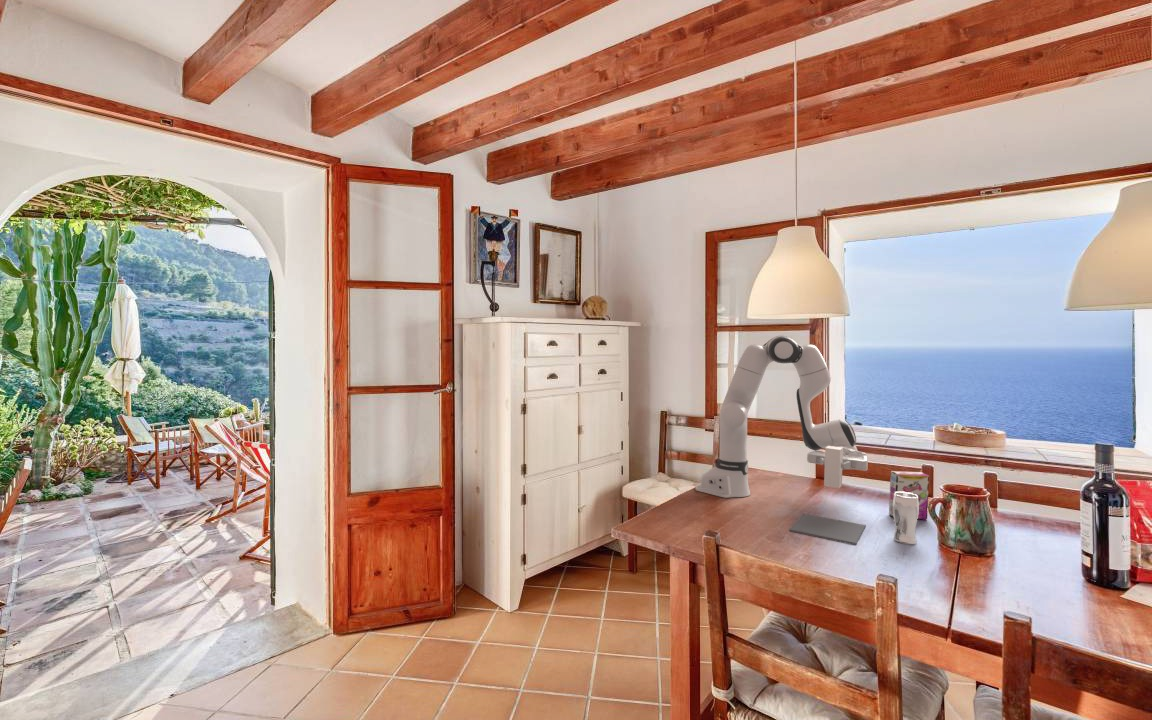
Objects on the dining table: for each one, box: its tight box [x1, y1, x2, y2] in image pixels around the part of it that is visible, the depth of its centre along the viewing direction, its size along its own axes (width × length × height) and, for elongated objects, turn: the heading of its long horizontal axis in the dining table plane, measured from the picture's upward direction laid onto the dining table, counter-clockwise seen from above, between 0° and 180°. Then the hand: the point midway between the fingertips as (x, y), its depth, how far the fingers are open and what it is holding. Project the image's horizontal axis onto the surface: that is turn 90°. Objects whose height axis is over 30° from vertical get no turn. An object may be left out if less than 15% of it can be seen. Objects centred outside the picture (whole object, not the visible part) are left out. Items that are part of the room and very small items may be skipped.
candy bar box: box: [888, 470, 930, 521], centre depth 187 cm, size 11×5×16 cm, turn 84°
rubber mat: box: [788, 513, 866, 546], centre depth 176 cm, size 20×20×1 cm
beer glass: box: [893, 492, 919, 546], centre depth 165 cm, size 7×7×15 cm
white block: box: [823, 446, 843, 489], centre depth 188 cm, size 5×5×14 cm
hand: (833, 464), depth 187 cm, fingers closed on white block, 5 cm apart
